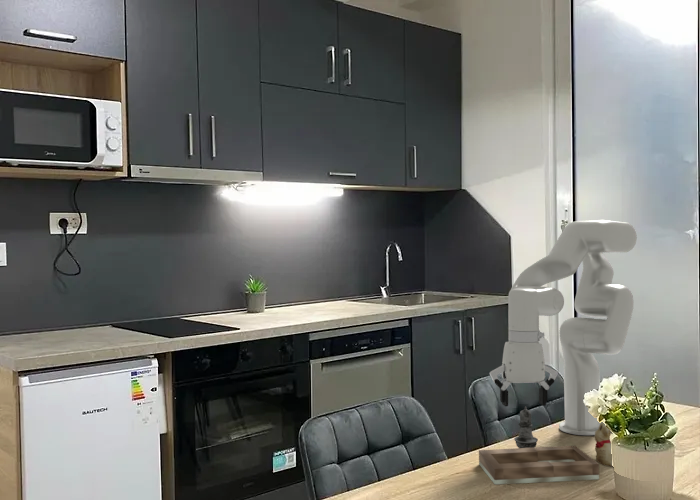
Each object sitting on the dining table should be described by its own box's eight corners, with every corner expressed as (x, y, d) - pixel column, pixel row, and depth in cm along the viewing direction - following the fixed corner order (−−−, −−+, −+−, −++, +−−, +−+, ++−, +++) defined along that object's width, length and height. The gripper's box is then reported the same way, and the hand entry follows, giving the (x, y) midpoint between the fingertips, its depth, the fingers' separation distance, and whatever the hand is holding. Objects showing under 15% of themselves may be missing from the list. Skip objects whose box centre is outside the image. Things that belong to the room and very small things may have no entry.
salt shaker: (536, 449, 185) (535, 403, 185) (539, 456, 179) (539, 409, 179) (513, 449, 186) (512, 403, 186) (516, 456, 180) (515, 409, 180)
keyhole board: (575, 459, 176) (574, 445, 176) (599, 479, 162) (598, 463, 162) (479, 464, 175) (478, 450, 175) (494, 484, 161) (494, 468, 161)
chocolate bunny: (619, 457, 177) (618, 417, 177) (617, 467, 170) (617, 425, 170) (595, 455, 180) (594, 415, 179) (593, 465, 172) (592, 423, 172)
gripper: (551, 335, 186) (551, 401, 186) (486, 335, 185) (486, 402, 185) (562, 338, 179) (562, 407, 179) (494, 339, 177) (494, 408, 177)
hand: (523, 404), depth 182 cm, fingers open, 9 cm apart
